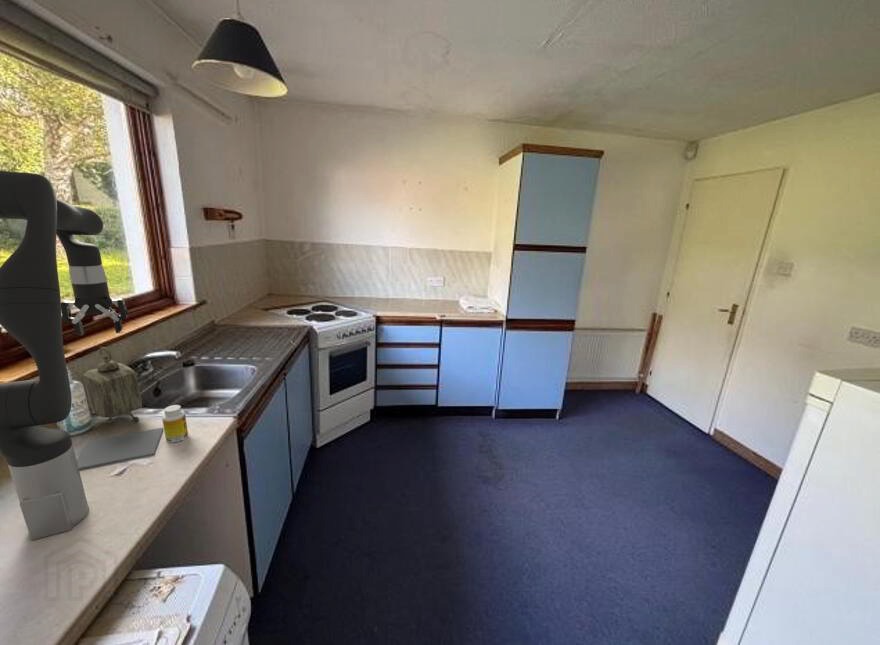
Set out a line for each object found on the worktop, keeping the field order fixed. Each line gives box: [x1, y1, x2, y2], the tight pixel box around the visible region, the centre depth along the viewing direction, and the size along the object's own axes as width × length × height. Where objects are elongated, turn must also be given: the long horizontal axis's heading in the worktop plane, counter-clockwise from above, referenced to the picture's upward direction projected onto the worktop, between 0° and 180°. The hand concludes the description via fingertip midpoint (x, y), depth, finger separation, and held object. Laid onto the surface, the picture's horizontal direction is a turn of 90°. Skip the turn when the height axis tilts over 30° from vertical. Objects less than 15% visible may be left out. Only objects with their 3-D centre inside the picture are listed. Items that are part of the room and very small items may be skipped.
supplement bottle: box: [161, 404, 189, 444], centre depth 109 cm, size 6×6×10 cm
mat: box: [76, 427, 164, 471], centre depth 104 cm, size 14×18×1 cm
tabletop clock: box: [81, 346, 143, 425], centre depth 114 cm, size 14×9×25 cm, turn 61°
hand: (100, 333), depth 110 cm, fingers open, 8 cm apart
